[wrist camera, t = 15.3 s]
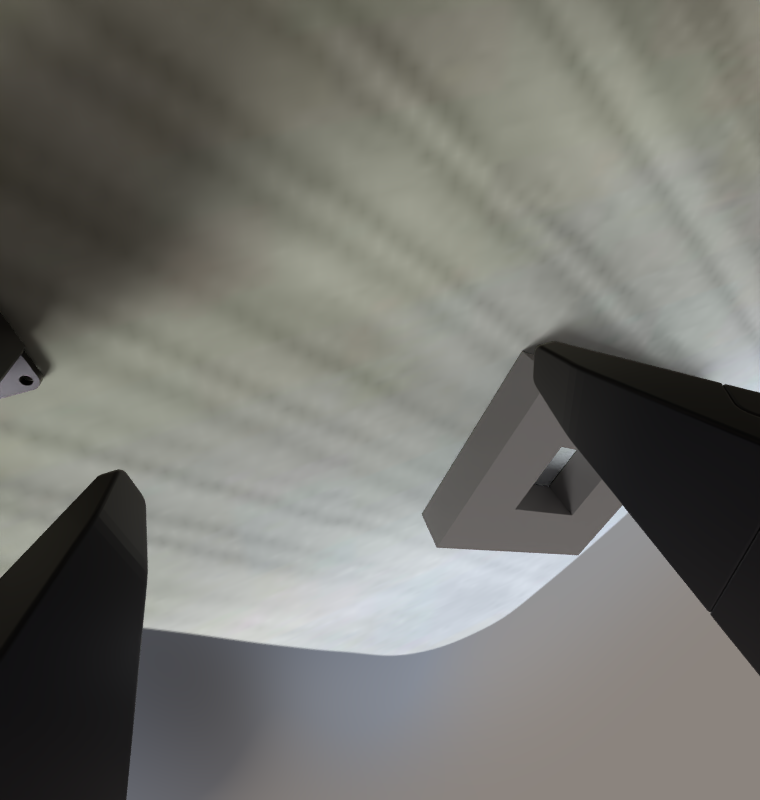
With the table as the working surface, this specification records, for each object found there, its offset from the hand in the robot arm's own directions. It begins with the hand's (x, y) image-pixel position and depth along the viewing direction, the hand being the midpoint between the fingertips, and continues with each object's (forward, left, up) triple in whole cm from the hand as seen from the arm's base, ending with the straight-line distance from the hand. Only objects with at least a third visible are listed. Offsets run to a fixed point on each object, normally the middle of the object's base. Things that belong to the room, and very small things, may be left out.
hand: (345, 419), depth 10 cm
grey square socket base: (+14, -19, -13) cm, 27 cm away
